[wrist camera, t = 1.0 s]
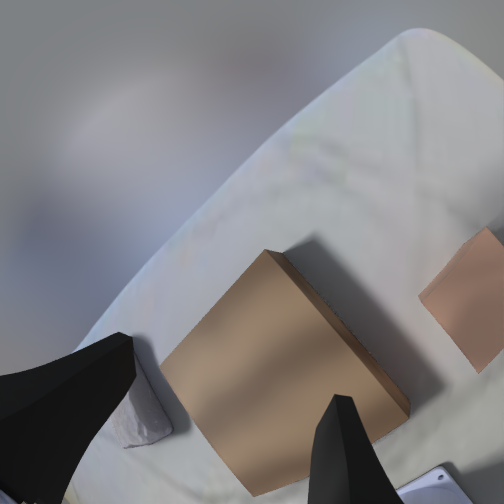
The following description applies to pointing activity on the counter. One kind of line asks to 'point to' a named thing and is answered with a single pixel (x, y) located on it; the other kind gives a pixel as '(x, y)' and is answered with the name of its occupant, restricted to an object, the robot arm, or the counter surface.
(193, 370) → the walnut base
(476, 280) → the terracotta block
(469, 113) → the counter surface
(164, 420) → the stone block
